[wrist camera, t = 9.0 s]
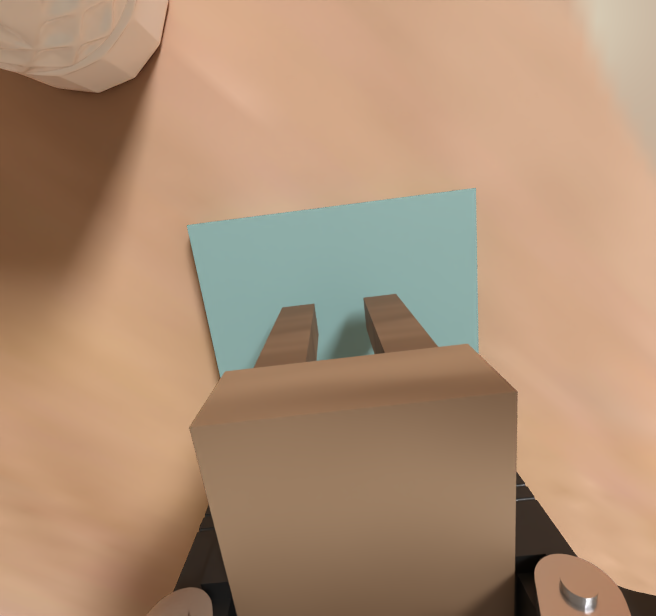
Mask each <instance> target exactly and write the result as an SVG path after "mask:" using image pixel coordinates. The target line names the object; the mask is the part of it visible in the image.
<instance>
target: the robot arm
mask: <svg viewBox="0 0 656 616" xmlns="http://www.w3.org/2000/svg"><path fill="white" fill-rule="evenodd" d="M146 616H237V613H236V609H235V605H234V601H233V597H232V593H231V589H230V585H229V581H228V577H227V574H226V570H225V566H224V562H223V558H222V554H221V550H220V546H219V542H218V538H217V534H216V531H215V527H214V523H213V519H212V515H211V511H210V507H209V506H208V508H207V511H206V513H205V518H203V520H202V523H201V525H200V528H199V532H198V533H197V535H196V538H195V540H194V542H193V545H192V547H191V550H190V552H189V555H188V557H187V560H186V562H185V564H184V567H183V569H182V572H181V574H180V577H179V579H178V582H177V584H176V587H175V589H174V591H173V592H172V593H170V594H169V595H167V596H166V597H164V598H163V599H161V600H160V601H159V602H158V603H157V604H156V605H155V606H154V607H153V608H152V609H151V610H150V611H149V612H148V614H147V615H146ZM514 616H656V596H654V595H649V594H645V593H640V592H636V591H632V590H628V589H625V588H622V587H620V586H617V585H616V584H615V582H614V581H613V580H612V579H611V578H610V577H609V576H608V575H607V574H606V573H605V572H603V571H602V570H601V569H599V568H598V567H596V566H595V565H593V564H592V563H590V562H588V561H586V560H584V559H581V558H578V557H577V555H576V554H575V553H574V552H573V550H572V549H571V547H570V546H569V545H568V543H567V542H566V540H565V539H564V538H563V536H562V535H561V533H560V532H559V530H558V529H557V528H556V526H555V525H554V523H553V522H552V521H551V519H550V518H549V516H548V515H547V514H546V512H545V511H544V509H543V508H542V507H541V505H540V504H539V502H538V501H537V500H535V498H534V495H533V494H532V493H531V491H530V490H529V488H528V487H526V486H525V483H524V481H523V480H522V479H521V477H520V476H519V474H518V473H517V472H516V527H515V596H514Z"/></svg>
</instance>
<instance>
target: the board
mask: <svg viewBox="0 0 656 616" xmlns="http://www.w3.org/2000/svg"><path fill="white" fill-rule="evenodd" d="M187 228H188V233H189V238H190V242H191V247H192V251H193V256H194V260H195V265H196V269H197V274H198V278H199V283H200V287H201V292H202V296H203V301H204V306H205V310H206V315H207V319H208V324H209V328H210V333H211V337H212V342H213V346H214V351H215V355H216V360H217V365H218V369H219V374H220V378H221V377H222V375H223V374H224V372H225V371H233V370H241V369H250V368H254V366H255V364H256V362H257V359H258V357H259V355H260V353H261V351H262V349H263V347H264V345H265V343H266V340H267V338H268V336H269V334H270V332H271V330H272V328H273V326H274V324H275V321H276V319H277V317H278V315H279V313H280V311H281V309H282V307H289V306H298V305H306V304H315V311H316V318H317V326H318V333H319V337H318V349H317V361H320V360H329V359H338V358H346V357H355V356H364V355H373V354H374V351H373V348H372V345H371V342H370V338H369V335H368V332H367V329H366V320H365V310H364V300H363V298H365V297H373V296H381V295H390V294H397V296H398V297H399V298H400V299H401V301H402V302H403V303H404V304H405V306H406V307H407V308H408V309H409V311H410V312H411V313H412V314H413V316H414V317H415V318H416V319H417V321H418V322H419V323H420V324H421V326H422V327H423V328H424V329H425V331H426V332H427V333H428V334H429V336H430V337H431V338H432V339H433V341H434V342H435V343H436V344H437V346H438V347H443V346H451V345H460V344H469V345H470V346H471V347H472V348H473V349H474V350H475V351H476V352H477V353H478V293H477V232H476V188H472V189H464V190H457V191H449V192H441V193H433V194H426V195H418V196H410V197H402V198H395V199H387V200H379V201H371V202H363V203H356V204H348V205H340V206H332V207H325V208H317V209H309V210H301V211H294V212H286V213H278V214H270V215H262V216H255V217H247V218H239V219H231V220H224V221H216V222H208V223H200V224H192V225H187Z"/></svg>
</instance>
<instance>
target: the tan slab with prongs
mask: <svg viewBox="0 0 656 616" xmlns="http://www.w3.org/2000/svg"><path fill="white" fill-rule="evenodd" d="M363 300H364V310H365V320H366V329H367V332H368V335H369V338H370V342H371V345H372V348H373V351H374V354H373V355H364V356H355V357H346V358H338V359H329V360H320V361H317V349H318V337H319V333H318V326H317V318H316V311H315V304H306V305H298V306H289V307H282V309H281V311H280V313H279V315H278V317H277V319H276V321H275V324H274V326H273V328H272V330H271V332H270V334H269V336H268V338H267V340H266V343H265V345H264V347H263V349H262V351H261V353H260V355H259V357H258V359H257V362H256V364H255V366H254V368H250V369H241V370H233V371H225V372H224V374H223V375H222V377H221V378H220V380H219V382H218V383H217V385H216V386H215V388H214V389H213V391H212V393H211V394H210V396H209V397H208V399H207V400H206V402H205V403H204V405H203V407H202V408H201V410H200V411H199V413H198V414H197V416H196V418H195V419H194V421H193V422H192V424H191V425H190V427H189V429H190V433H191V437H192V440H193V444H194V448H195V452H196V456H197V460H198V464H199V468H200V472H201V476H202V480H203V484H204V487H205V491H206V495H207V499H208V503H209V507H210V511H211V515H212V519H213V523H214V527H215V531H216V534H217V538H218V542H219V546H220V550H221V554H222V558H223V562H224V566H225V570H226V574H227V577H228V581H229V585H230V589H231V593H232V597H233V601H234V605H235V609H236V613H237V616H514V596H515V527H516V458H517V391H516V390H515V389H514V388H513V387H512V386H511V385H510V384H509V383H508V382H507V381H506V380H505V379H504V378H503V377H502V376H501V375H500V374H499V373H498V372H497V371H496V370H495V369H494V368H493V367H492V366H490V365H489V364H488V363H487V362H486V361H485V360H484V359H483V358H482V357H481V356H480V355H479V354H478V353H477V352H476V351H475V350H474V349H473V348H472V347H471V346H470V345H469V344H460V345H451V346H443V347H438V346H437V344H436V343H435V342H434V341H433V339H432V338H431V337H430V336H429V334H428V333H427V332H426V331H425V329H424V328H423V327H422V326H421V324H420V323H419V322H418V321H417V319H416V318H415V317H414V316H413V314H412V313H411V312H410V311H409V309H408V308H407V307H406V306H405V304H404V303H403V302H402V301H401V299H400V298H399V297H398V296H397V294H390V295H381V296H373V297H365V298H363Z"/></svg>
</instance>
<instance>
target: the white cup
mask: <svg viewBox="0 0 656 616" xmlns="http://www.w3.org/2000/svg"><path fill="white" fill-rule="evenodd" d="M168 1H169V0H0V68H1V69H4V70H8V71H12V72H16V73H19V74H21V75H24V76H27V77H29V78H32V79H34V80H37V81H40V82H42V83H45V84H47V85H50V86H53V87H55V88H60V89H69V90H77V91H86V92H94V93H100V92H102V91H105V90H107V89H110V88H112V87H114V86H117V85H119V84H121V83H124V82H126V81H128V80H131V79H133V78H135V77H136V76H137V74H138V73H139V72H140V70H141V69H142V68H143V66H144V65H145V64H146V62H147V61H148V60H149V58H150V57H151V56H152V54H153V53H154V52H155V50H156V49H157V48H158V46H159V45H160V42H161V37H162V32H163V26H164V21H165V16H166V11H167V6H168Z"/></svg>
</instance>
